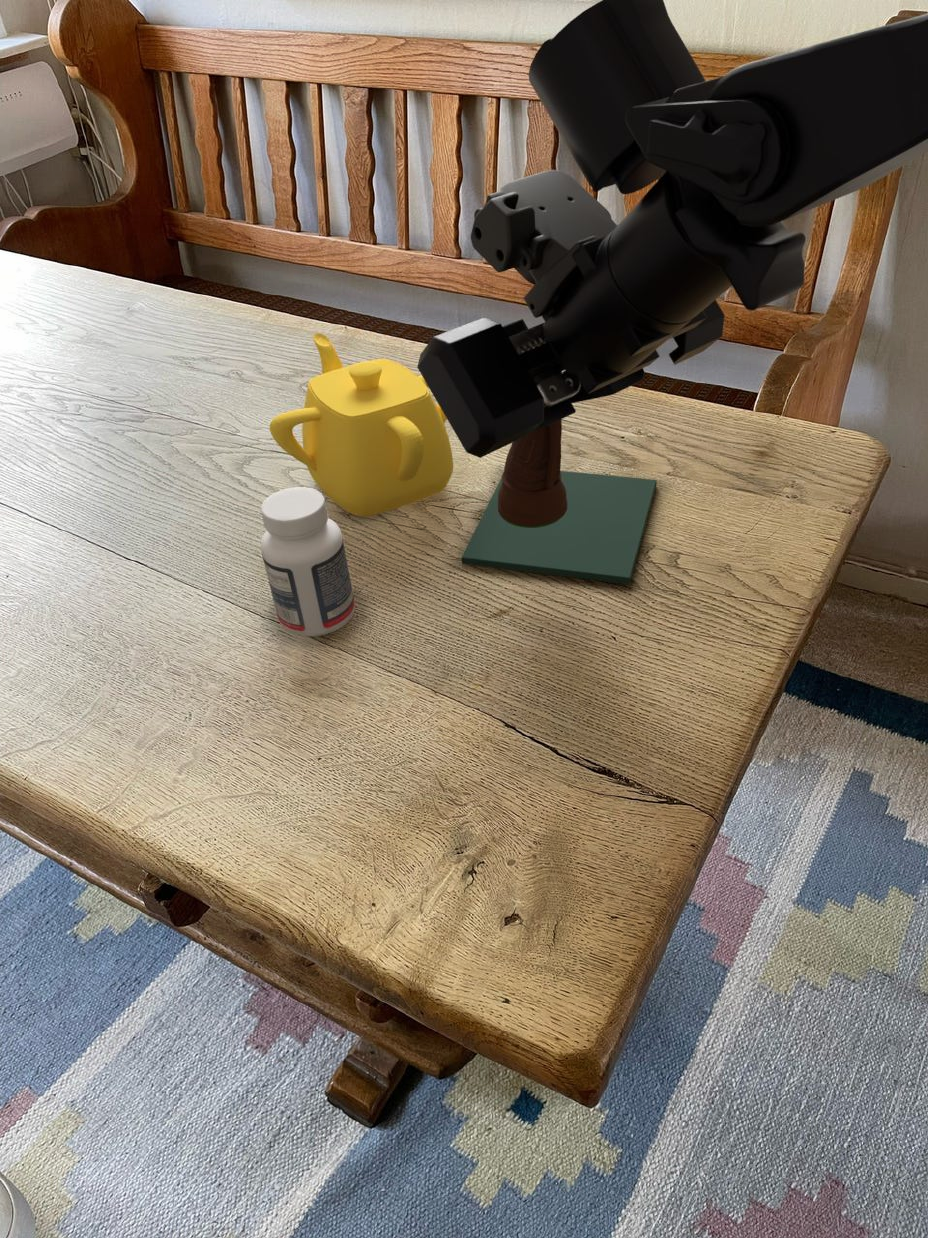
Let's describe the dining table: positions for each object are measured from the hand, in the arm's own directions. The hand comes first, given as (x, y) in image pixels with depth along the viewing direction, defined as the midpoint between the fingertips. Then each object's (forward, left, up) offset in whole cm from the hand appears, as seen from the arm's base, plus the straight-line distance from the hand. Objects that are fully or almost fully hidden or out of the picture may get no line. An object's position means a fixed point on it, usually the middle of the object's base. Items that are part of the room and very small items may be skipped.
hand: (513, 409), depth 60 cm
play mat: (-2, -6, -12) cm, 14 cm away
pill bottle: (+12, +8, -12) cm, 19 cm away
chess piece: (-1, +1, -7) cm, 7 cm away
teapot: (+14, -9, -12) cm, 21 cm away
